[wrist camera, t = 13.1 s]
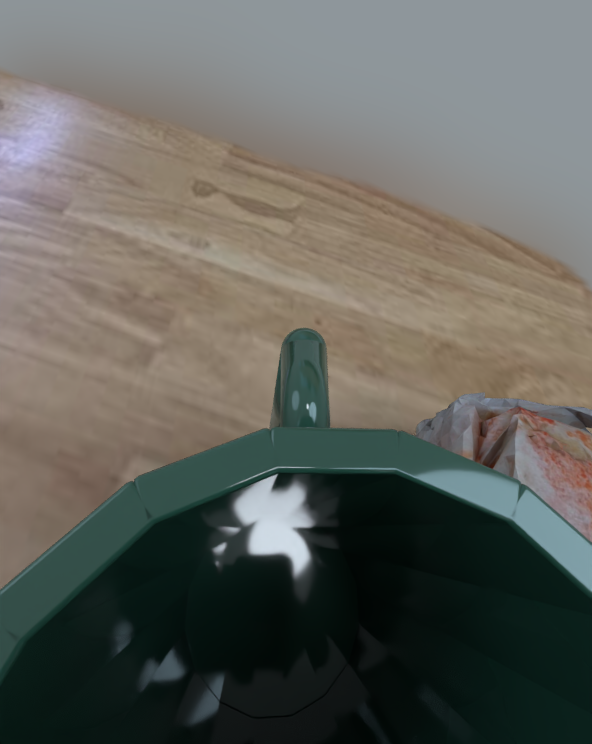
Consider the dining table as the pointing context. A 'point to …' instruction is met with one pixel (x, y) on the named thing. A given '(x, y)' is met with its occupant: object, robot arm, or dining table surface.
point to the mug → (305, 598)
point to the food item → (524, 447)
